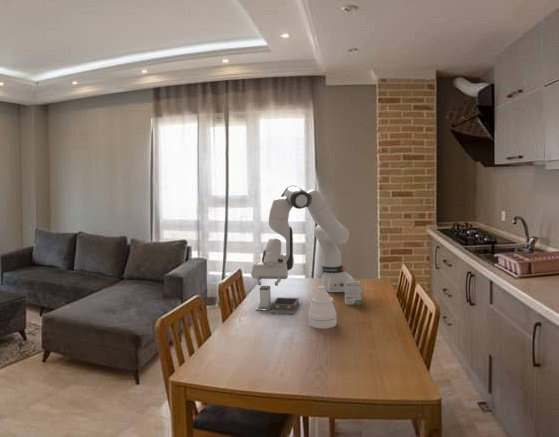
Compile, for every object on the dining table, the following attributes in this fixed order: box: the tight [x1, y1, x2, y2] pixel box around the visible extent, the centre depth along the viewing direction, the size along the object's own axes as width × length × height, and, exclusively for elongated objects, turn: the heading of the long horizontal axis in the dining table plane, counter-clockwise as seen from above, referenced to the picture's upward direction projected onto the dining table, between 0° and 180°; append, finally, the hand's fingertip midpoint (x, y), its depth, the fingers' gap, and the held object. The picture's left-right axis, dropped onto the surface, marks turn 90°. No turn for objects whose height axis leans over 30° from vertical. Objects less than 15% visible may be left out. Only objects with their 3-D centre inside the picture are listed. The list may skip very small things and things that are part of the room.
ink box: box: [344, 280, 362, 306], centre depth 225 cm, size 9×5×12 cm, turn 84°
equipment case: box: [269, 297, 300, 316], centre depth 219 cm, size 12×17×4 cm
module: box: [259, 285, 272, 307], centre depth 223 cm, size 5×5×10 cm
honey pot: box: [308, 285, 338, 329], centre depth 195 cm, size 13×13×18 cm
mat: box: [256, 301, 274, 311], centre depth 224 cm, size 8×12×1 cm, turn 167°
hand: (267, 285), depth 227 cm, fingers open, 8 cm apart
